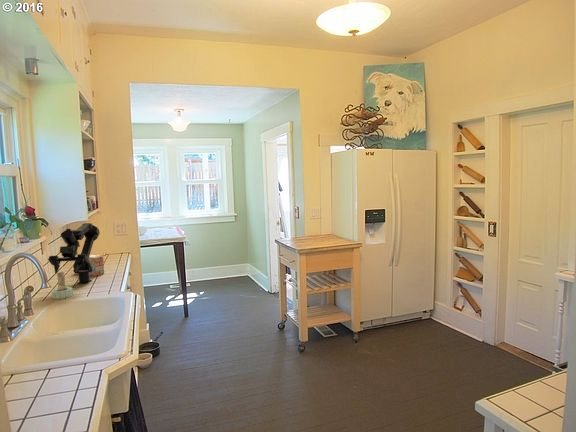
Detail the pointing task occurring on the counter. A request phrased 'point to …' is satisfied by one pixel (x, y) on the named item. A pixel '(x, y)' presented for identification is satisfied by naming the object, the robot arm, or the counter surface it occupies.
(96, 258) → the beige printed box
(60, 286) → the peg
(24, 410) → the counter surface
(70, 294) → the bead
